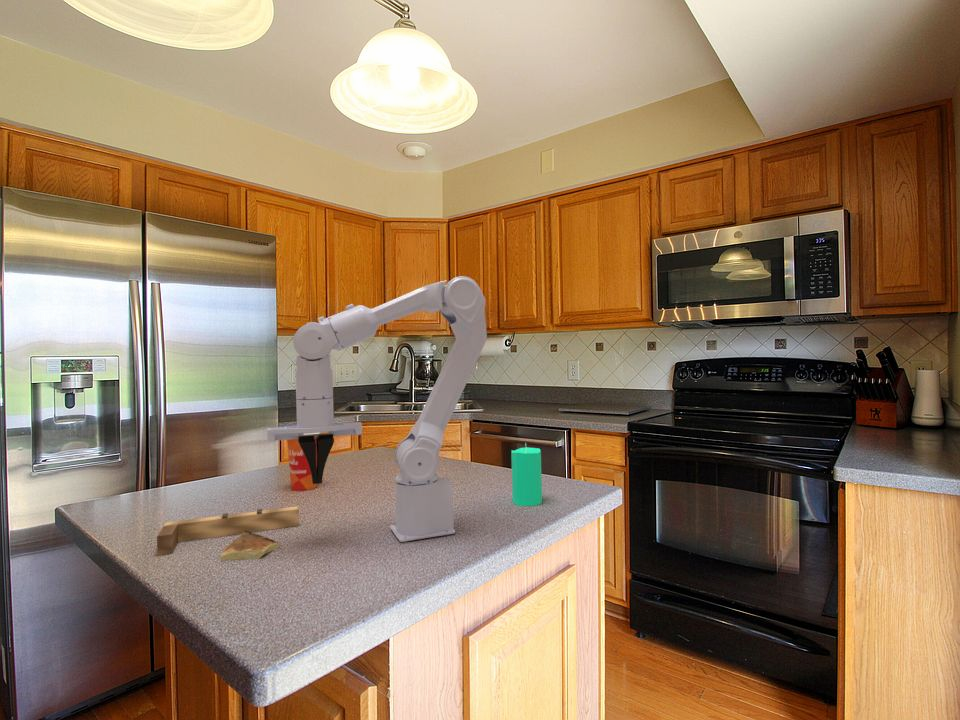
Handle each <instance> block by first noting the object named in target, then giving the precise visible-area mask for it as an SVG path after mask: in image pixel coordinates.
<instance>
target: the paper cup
mask: <svg viewBox="0 0 960 720" xmlns="http://www.w3.org/2000/svg"><path fill="white" fill-rule="evenodd" d="M309 434H320V433H304V435H309ZM316 438H317V437H316ZM316 438H314V439H315V443H316ZM286 444H287V455H288V465H289V466H288V467H289V477H290V478H289V479H290V486H291V487H290V488H291V490H292V491H295V492H305V491H310V490H314V489H316V488H317V485H318V484H313V482H312V476H311V471H310V467H309V464H308V461H307V459H306V456H305V454H304V452H303V450H302V448H301V446H300V444H299V442H298V439H290V440H286ZM316 468H317V448H316Z"/></svg>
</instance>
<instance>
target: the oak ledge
mask: <svg viewBox="0 0 960 720" xmlns="http://www.w3.org/2000/svg"><path fill="white" fill-rule="evenodd" d="M299 510H300V509H299V506H298V505H297V506H290V507H280V508H273V509H272V508H271V509H264V510H263V509H262V508H259V509H256V511H248V512H241V513H239V512H238V513H233V514H232V513H231V514H229V513H228V512H227V513H226V512H225V513H222V515H217V516H215V515H214V516H209V517H208V516H207V517H199V518H191V519H185V520H183V519H182V520H177V521H176V520H175V521H168V522H165V523H164V525H163V527H162V528H161V530H160V531H159V532H158V534H157V535H156V547H157V548H156V550H157V553H156V554H157V556H158V557H159V556H163V555H164V556H165V555H166V556H167V555H171V554H173V553H174V551H175V549H176V547H177V546H178V543H183V542H189V541H197V540H204V539H205V540H206V539H211V538H212V539H213V538H218V537H226V536H233V535H241V534H242V533H244V531H248V532H251V533H255V532H256V533H257V532H263V531H271V530H276V529H285V528H292V527H299V526H300V515H299V514H300V512H299Z"/></svg>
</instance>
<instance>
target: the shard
mask: <svg viewBox="0 0 960 720" xmlns="http://www.w3.org/2000/svg"><path fill="white" fill-rule="evenodd" d="M279 547H280V543H279V542H278V541H276V540H274V539H270V538H269V537H267V536H264V535H261V534H258V533H255V532H248V531H244V533H242V534H239V536H238V537H237V538H236V539H234V540H233V541H232V542H231V543H230V544H229V545H227V547H225V549H224V550H223V551H222V552H221V553H220V561H223V562H224V561H233V560H234V561H235V560H256V559H258V560H259V559H261V558H262V557H263V556H264V555H266V554H268V553H270V552H272V551H275V550H278V549H279Z"/></svg>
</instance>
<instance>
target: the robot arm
mask: <svg viewBox="0 0 960 720" xmlns="http://www.w3.org/2000/svg"><path fill="white" fill-rule="evenodd" d="M446 283H447V284H446ZM480 287H481V286H479V285H478V283H477V282H476V281H475V279H472V278H471V277H469V276H466V275H464V276H463V275H460V276H455V277H454V278H452V279H451V280H449V281H448V282H447V280H441V281H438V282H435V283H431V284H427V285H423V286H421V287H419V288H417V289H415V290H412V291H410V292H408V293H405V294H403V295H400V296H399V297H397V298H394V299H391V300H389V301H387V302H385V303H382V304H380V305H378V306H375V307H373V308H369V307H367V306H365V305H364V304H363V305H362V304H358V305H355V306H354V304H353V303H351V304H349V305H346V306H345V310H342V311H341V312H339V313H335V314H333V315H331V316H328V317H326V318H325V317H324V316H323V315H322V316H320V317H318V318H317V321H318V322H313V321H310V322H306V323H305V324H304V325H302V326H301V327H300V328H298V330H297V331H296V332H295V333H294V335H293V342H292V343H293V347H294V350H295V352H296V353H297V354H298V355H296V359H295V366H296V369H295V373H294V374H295V403H296V425H288V426H279V427H267V429H266V432H267V435H266V436H267V438H266V439H267V442H268V443H269V442H272V443H273V442H277V441H287V440H290V439H298V442H299V444H300V446H301V448H302V450H303V452H304V454H305V456H306V459H307V461H308V464H309V467H310V471H311V476H312V482H313V484H317V485H318V484H322V483H323V476H324V471H325V467H326V463H327V461H328V458H329V455H330V453H331V450H332V449H333V445H334V443H335V438H334V437H339V436H352V435H353V436H354V435H355V436H361V435H363V423H362V422H360V421H354V422H348V421H347V422H335V421H334V418H335V417H334V385H333V384H334V383H333V381H334V380H333V379H334V378H333V377H334V376H333V369H332V368H331V367H332V366H331V355H330V353H331V352H332V350H337V351H338V352H339V351H342V350H344V349H345V350H346V349H347V348H349V347H352V346H354V345H357V344H359V343H362V342H365V341H367V340H369V339H373V338H374V337H375V335H376V333H377V331H378V328H379V327H380V326H382V325H385V324H388V323H390V322H393V321H396V320H398V319H402V318H404V317H407V316H409V315H412V314H414V313H417V312H421V311H422V312H428V313H431V314H435V313H438V312H439V313H440V315H441V316H442V317H443V318H444V320H446V321H447V322H448V323H449V325H450V328H451V330H452V333H453V335H454V337H455V341H454V342H453V345H452V347H451V349H450V351H449V353H448V356H447V357H446V360H445V362H444V364H443V366H442V368H441V370H440V372H439V374H438V377H437V378H436V381H435V383H434V385H433V387H432V390H431V392H430V394H429V396H428V398H427V399H426V402H425V405H424V406H423V409H422V411H421V413H420V415H419V418H418V419H417V420H416V422H415V423H414V424H413V426H412V427H411V428H410V430H409V432H408V434H407V436H406V437H405V438H404V439H402V440H401V441H400V442H399V443H398V444H397V446H396V448H395V452H394V459H395V462H396V465H397V466H398V467H399V469H400V470H399V472H398V474H397V475H396V476H395V477H394V486H395V487H394V492H395V494H394V496H395V524H391V525H389V528H390V530H391V531H392V533H393V534H394V535H395V537H396V539H397V540H398V542H400V543H403V542H404V543H405V542H409V541H415V540H422V539H428V538H434V537H435V538H436V537H440V536H447V535H453V534H455V533H456V530H455V526H454V525H455V524H454V523H455V521H454V517H455V516H454V494H453V492H454V491H453V486H452V483H451V481H450V479H449V478H448V477H446V476H440V477H438V474H437V472H438V469H439V464H440V463H439V462H440V461H439V455H440V452H441V449H442V447H443V445H444V444H443V442H444V434H445V430H446V429H447V427H448V424H449V422H450V420H451V418H452V415H453V414H454V411H455V409H456V406H457V405H458V403H459V400H460V398H461V396H462V394H463V392H464V390H465V387H466V385H467V383H468V381H469V379H470V377H471V374H472V373H473V370H474V368H475V365H476V363H477V361H478V360H479V357H480V356H481V353H482V350H483V349H484V347H485V345H486V342H487V337H488V334H487V321H486V312H485V309H486V308H485V307H486V301H487V300H486V297H485V296H484V294H483V291H482V289H481V288H480ZM304 433H319V434H309V435H304ZM316 437H317V438H316ZM314 438H316V443H315V439H314ZM316 448H317V468H316Z"/></svg>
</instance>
